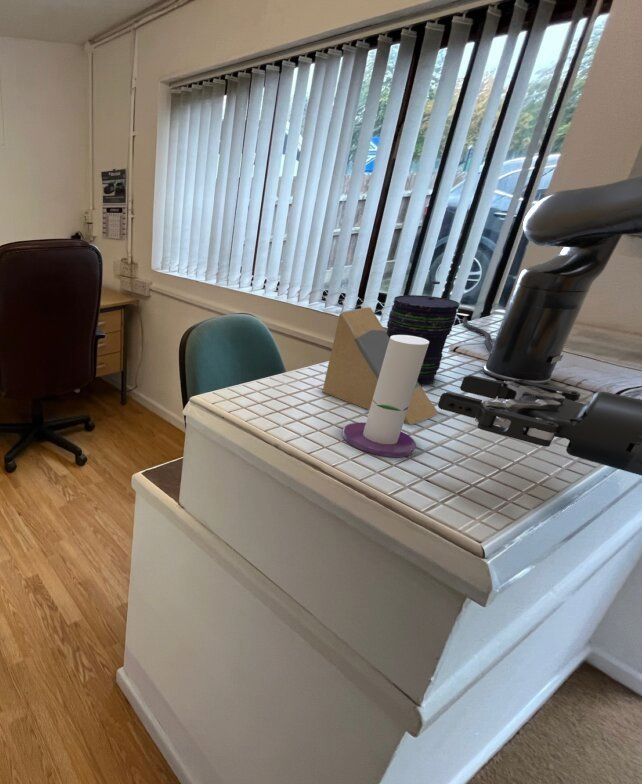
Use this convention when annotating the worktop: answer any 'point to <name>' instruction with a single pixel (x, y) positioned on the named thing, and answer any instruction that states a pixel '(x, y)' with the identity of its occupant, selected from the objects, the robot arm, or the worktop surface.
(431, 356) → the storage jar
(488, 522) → the worktop surface
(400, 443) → the purple disc
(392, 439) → the tube
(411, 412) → the sandwich container
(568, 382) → the worktop surface
